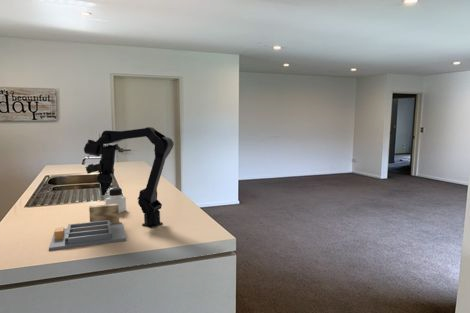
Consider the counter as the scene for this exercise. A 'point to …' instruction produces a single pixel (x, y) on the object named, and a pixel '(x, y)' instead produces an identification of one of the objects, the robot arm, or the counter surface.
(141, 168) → the counter surface
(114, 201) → the medicine bottle
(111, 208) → the oak divider
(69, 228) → the slotted rack
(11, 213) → the counter surface
